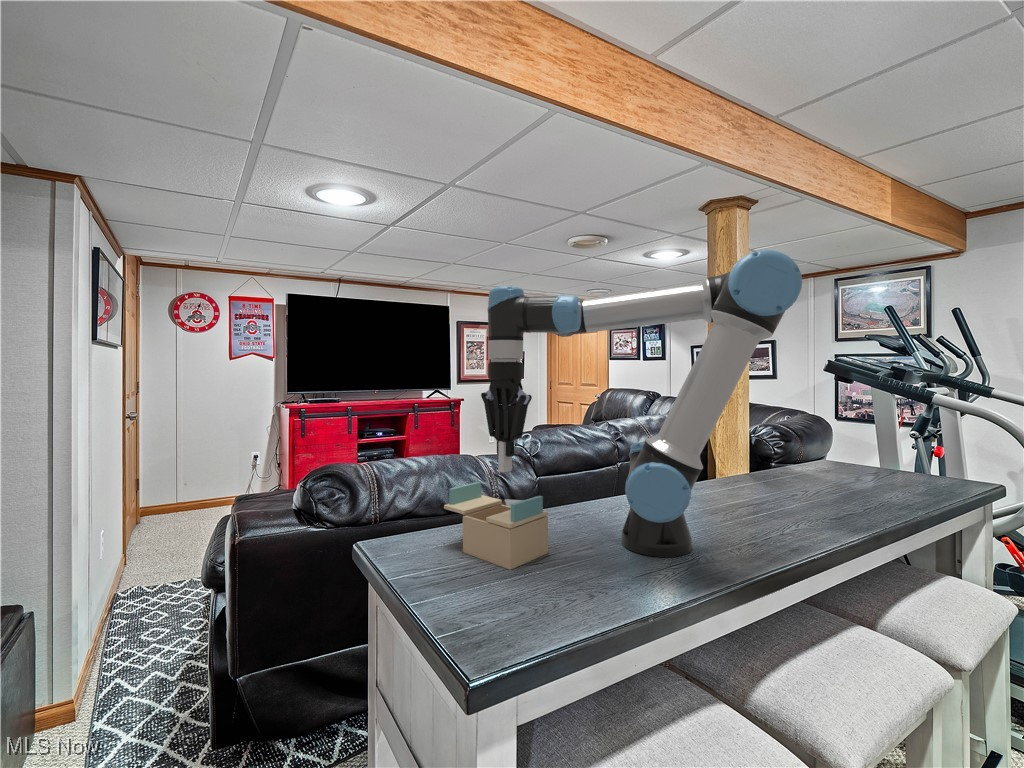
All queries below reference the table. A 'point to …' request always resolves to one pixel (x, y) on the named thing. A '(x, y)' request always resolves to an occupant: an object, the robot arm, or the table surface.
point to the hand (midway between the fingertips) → (505, 470)
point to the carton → (504, 539)
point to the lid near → (520, 513)
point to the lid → (469, 499)
